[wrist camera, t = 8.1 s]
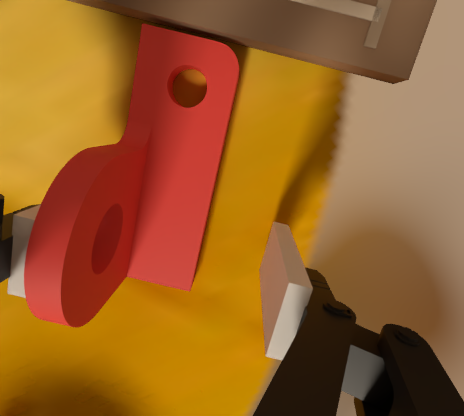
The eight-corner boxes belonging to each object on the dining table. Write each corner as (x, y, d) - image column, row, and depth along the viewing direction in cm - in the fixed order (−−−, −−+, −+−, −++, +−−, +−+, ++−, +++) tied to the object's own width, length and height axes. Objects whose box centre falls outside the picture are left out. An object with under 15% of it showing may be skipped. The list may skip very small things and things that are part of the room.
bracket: (193, 281, 18) (153, 394, 11) (114, 262, 18) (17, 362, 11) (244, 53, 15) (240, -18, 8) (149, 30, 15) (50, -64, 8)
